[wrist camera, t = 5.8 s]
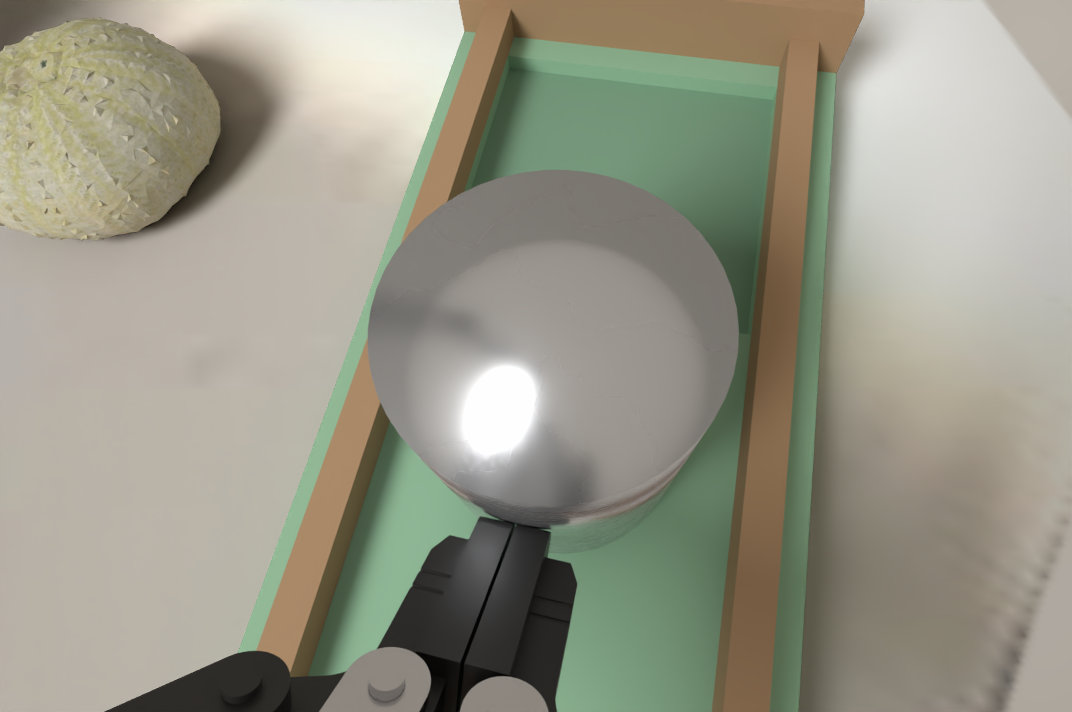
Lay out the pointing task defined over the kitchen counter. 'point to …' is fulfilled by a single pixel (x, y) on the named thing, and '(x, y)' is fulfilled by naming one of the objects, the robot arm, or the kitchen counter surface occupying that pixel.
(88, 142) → the sea urchin shell
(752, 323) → the green railed board
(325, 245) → the kitchen counter surface
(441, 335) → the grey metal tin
